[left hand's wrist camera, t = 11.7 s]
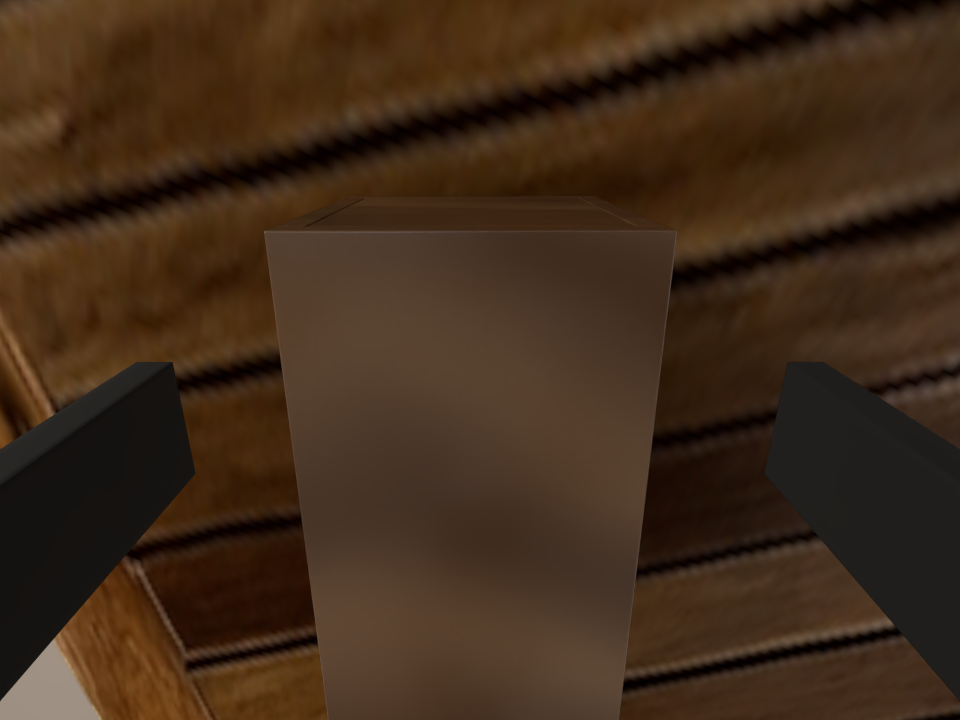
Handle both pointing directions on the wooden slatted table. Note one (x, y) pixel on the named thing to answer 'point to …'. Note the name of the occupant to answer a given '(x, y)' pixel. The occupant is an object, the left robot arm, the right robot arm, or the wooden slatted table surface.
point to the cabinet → (472, 445)
